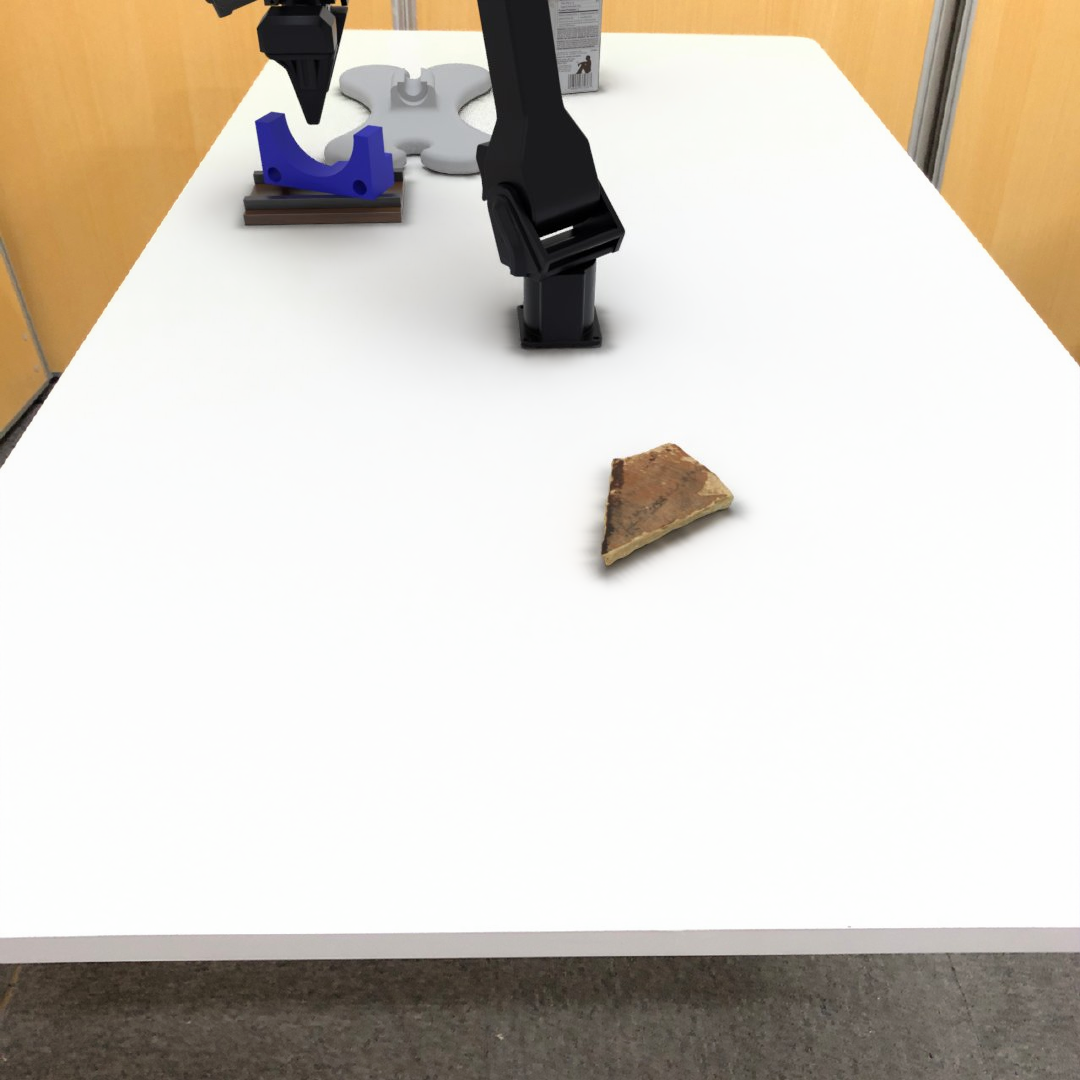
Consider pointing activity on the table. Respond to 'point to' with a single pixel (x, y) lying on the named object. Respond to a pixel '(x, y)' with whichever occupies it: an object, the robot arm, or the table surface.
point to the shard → (657, 498)
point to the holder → (417, 114)
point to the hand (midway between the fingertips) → (318, 107)
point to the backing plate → (320, 205)
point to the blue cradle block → (297, 169)
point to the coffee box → (577, 43)
